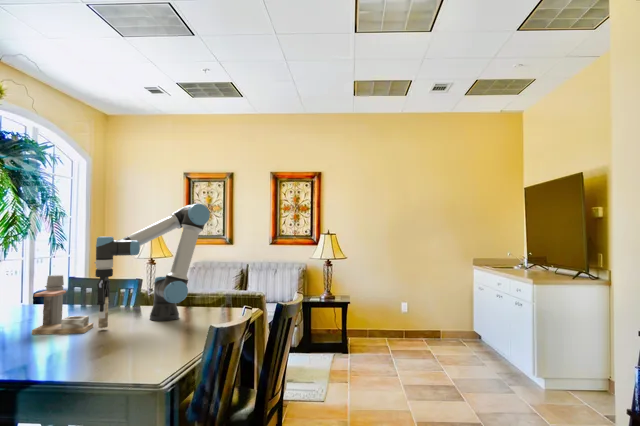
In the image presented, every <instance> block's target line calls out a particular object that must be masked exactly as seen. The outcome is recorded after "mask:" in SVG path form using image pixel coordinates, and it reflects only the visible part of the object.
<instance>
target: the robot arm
mask: <svg viewBox="0 0 640 426" xmlns="http://www.w3.org/2000/svg"><path fill="white" fill-rule="evenodd" d="M210 217H211V213H210V210H209V208H208V207H207V206H206V205H205V204H202V203H192V204H187V205H185V206H183V207H181V208H179V209H178V210H175V211H174V212H172V213H170V216H168V217H166V218H163V219H161V220H159V221H157V222H155V223H153V224H151V225H148V226H147V227H144V228H143V229H139V230H137V231H136V232H133V233H132V234H129V235H127V236H125V237H122V238H121V239H117V240H116V239H115V238H114V237H113V236H97V238H96V241H95V242H96V243H95V261H94V264H95V268H96V269H95V275H94V276H95V278H99V281H98V282H97V284H96V287H97V302H96V306H98V319H99V318H105V297H108V303H110V302H111V299H110V293H111V291H110V289H111V280H109V279H110V278H111V277H113V276H114V269H113V268H114V257H115V256H116V257H118V256H120V257H121V256H123V257H124V256H138V255H139V254H140V250H141V246H142V245H145V244H147V243H149V242H151V241H153V240H155V239H158V238H159V237H161V236H164V235H165V234H167V233H169V232H172V231H173V230H176V229H178V230H179V229H181V228H182V232H181V236H180V240H179V242H178V245H177V249H176V252H175V256H174V259H173V261H172V266H171V269H170V272H168V273H167V274H166V275H165V276H156V277H155V278H154V283H153V285H154V287H153V288H154V289H153V306H152V309H151V311H150V313H149V320H151V321H156V322H157V321H158V322H160V321H161V322H164V321H165V322H166V321H174V320H178V319H179V318H180V313H179V310H178V306H177V304H179V303H181V302H183V301H184V300H186V298H187V296H188V293H189V288H188V287H189V286H188V283H189V280H190V279H189V277H188V273H189V269H190V266H191V262H192V258H193V255H194V253H195V252H194V251H195V249H196V246H197V241H198V238H199V234H200V233H201V232H203V231H204V228H205V226H206V224H207V223H208V222H209V220H210Z"/></svg>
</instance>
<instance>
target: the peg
mask: <svg viewBox="0 0 640 426" xmlns="http://www.w3.org/2000/svg"><path fill="white" fill-rule="evenodd" d="M108 301H109V300H108V297H105V318H99V317H98V327H97V328H99V329H103V328H104V329H105V328H109V327H108V326H109V302H108Z"/></svg>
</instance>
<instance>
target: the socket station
mask: <svg viewBox="0 0 640 426" xmlns="http://www.w3.org/2000/svg"><path fill="white" fill-rule="evenodd" d="M66 293H67V290H64V289H63V290H56V291H46V290H43V291H40V292H36V293H34V294H33V297H34V298H35V297H43V308H44V309H42V314H43V315H42V324H41V325H39V326H38V327H35V328H34V329H31V335H33V336H34V335H57V334H59V335H60V334H62V335H63V334H64V335H65V334H86V333H87V332H88V331H90V330H91V329H93V328H94V322H89V321H90V315H74V316H73V315H71V316H70V315H69V316H66V317H64V318H62V323H61V324H50V320H51V299H52V296H58V295H61V294H63V295H64V294H66Z"/></svg>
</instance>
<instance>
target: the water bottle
mask: <svg viewBox="0 0 640 426" xmlns="http://www.w3.org/2000/svg"><path fill="white" fill-rule="evenodd" d="M64 285H65V284H64V275H63V274H53V275H47V279H46V285H45V286H44V288H45V289H46V290H45V291H56V290H64ZM63 299H64V294H61V295H58V296H52V299H51V320H50V324H61V323H62V319H63V306H64V305H63V302H64V301H63ZM43 309H44V307H43ZM43 309H42V310H43Z"/></svg>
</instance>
